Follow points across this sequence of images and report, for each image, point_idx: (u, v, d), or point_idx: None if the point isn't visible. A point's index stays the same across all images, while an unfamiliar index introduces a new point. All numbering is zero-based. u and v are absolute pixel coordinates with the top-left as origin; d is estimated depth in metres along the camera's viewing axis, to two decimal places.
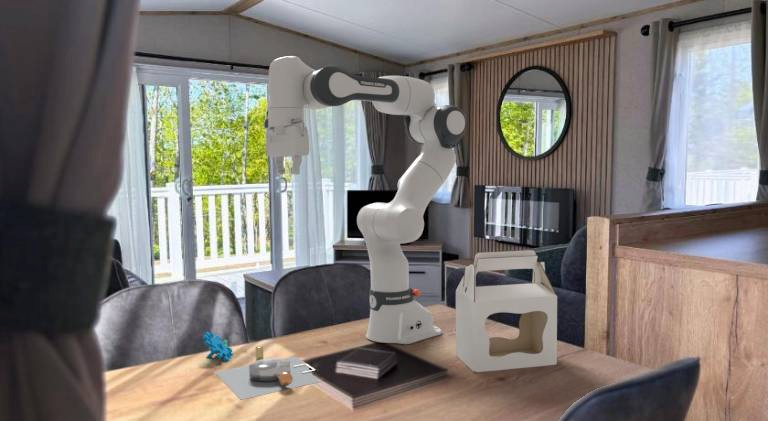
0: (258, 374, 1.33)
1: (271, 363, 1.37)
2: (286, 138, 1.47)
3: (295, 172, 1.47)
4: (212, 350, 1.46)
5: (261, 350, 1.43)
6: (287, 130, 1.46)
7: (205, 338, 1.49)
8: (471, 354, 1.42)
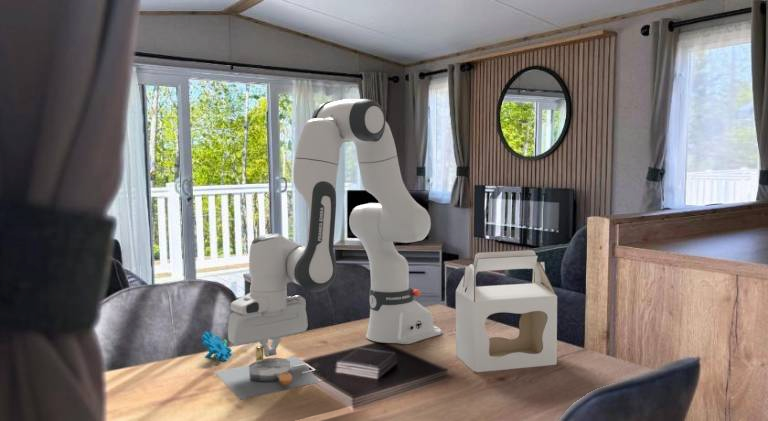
0: (258, 374, 1.33)
1: (271, 363, 1.37)
2: (283, 318, 1.45)
3: None
4: (210, 350, 1.46)
5: (261, 350, 1.43)
6: (289, 309, 1.45)
7: (203, 338, 1.49)
8: (471, 354, 1.42)
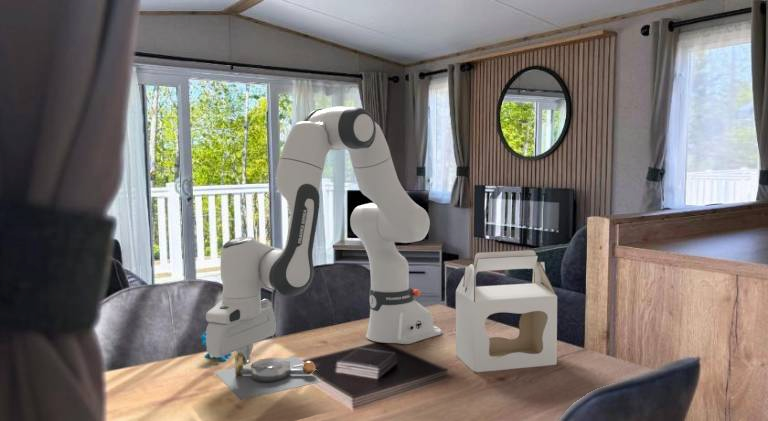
0: (277, 374, 1.33)
1: (270, 363, 1.37)
2: (257, 323, 1.40)
3: None
4: None
5: (242, 357, 1.37)
6: (261, 314, 1.41)
7: (203, 338, 1.49)
8: (471, 354, 1.42)
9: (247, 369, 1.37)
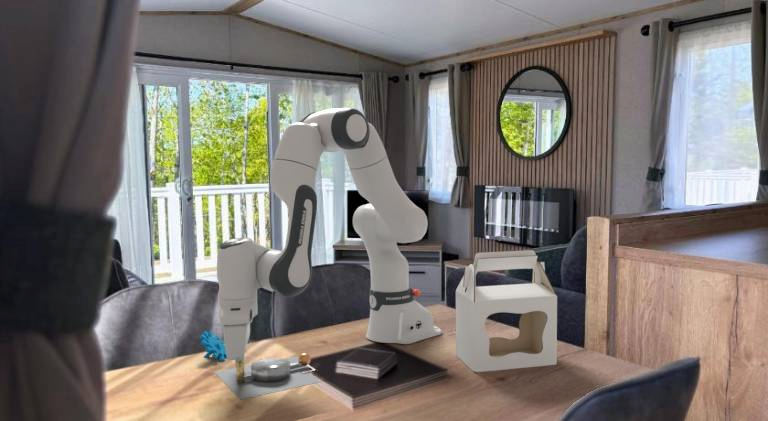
0: (287, 370, 1.35)
1: (270, 363, 1.37)
2: None
3: None
4: (208, 350, 1.46)
5: None
6: None
7: (202, 338, 1.49)
8: (471, 354, 1.42)
9: (248, 374, 1.34)
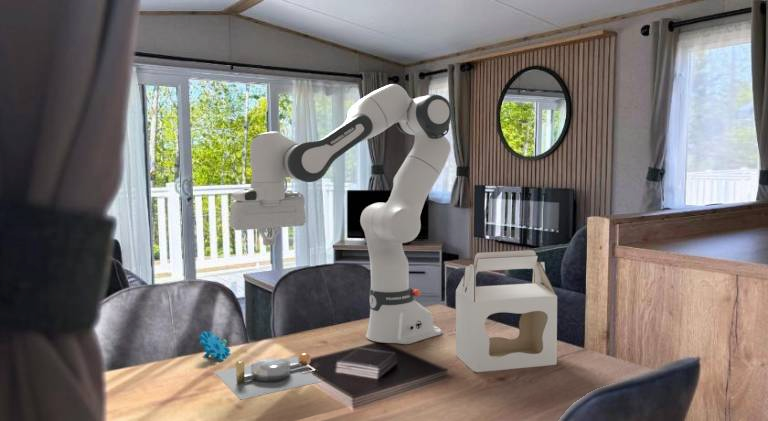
0: (287, 370, 1.35)
1: (270, 363, 1.37)
2: (282, 210, 1.56)
3: None
4: (206, 350, 1.46)
5: None
6: (287, 203, 1.56)
7: (201, 337, 1.49)
8: (471, 354, 1.42)
9: (248, 374, 1.34)
